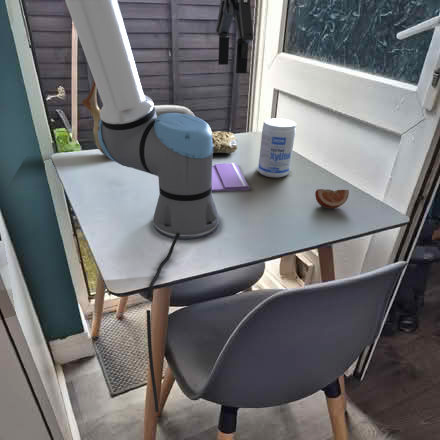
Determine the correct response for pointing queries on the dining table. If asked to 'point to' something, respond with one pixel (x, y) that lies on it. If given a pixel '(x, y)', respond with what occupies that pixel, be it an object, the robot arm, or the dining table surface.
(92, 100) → the ceramic vessel
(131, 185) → the dining table surface
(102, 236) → the dining table surface
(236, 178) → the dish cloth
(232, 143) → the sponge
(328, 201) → the fruit slice
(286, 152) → the supplement tub
